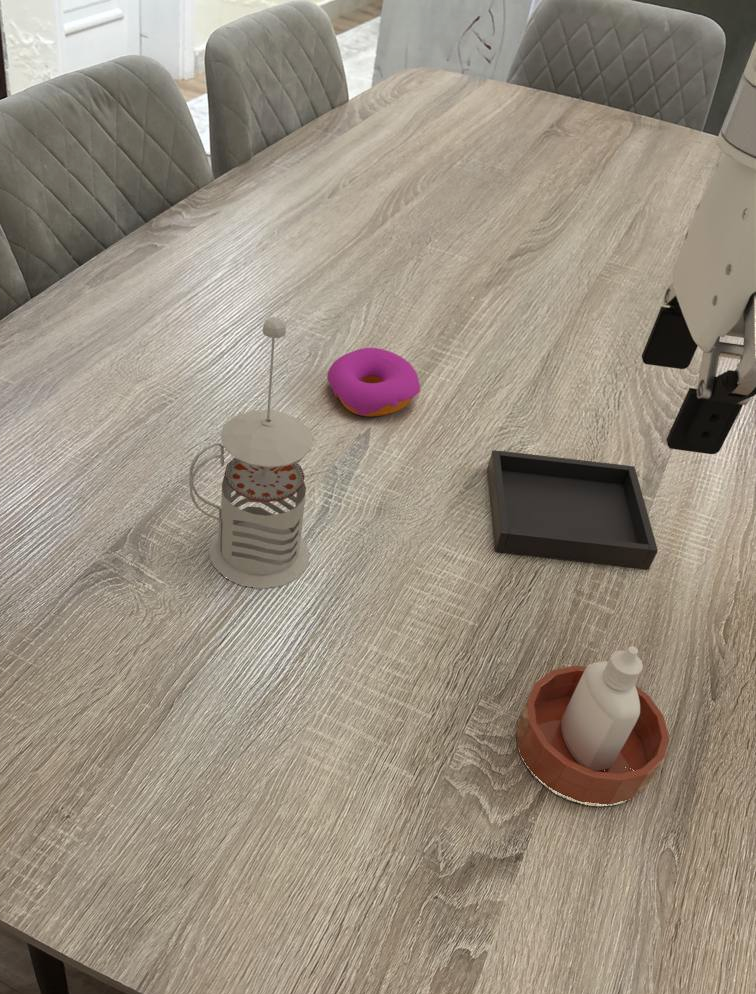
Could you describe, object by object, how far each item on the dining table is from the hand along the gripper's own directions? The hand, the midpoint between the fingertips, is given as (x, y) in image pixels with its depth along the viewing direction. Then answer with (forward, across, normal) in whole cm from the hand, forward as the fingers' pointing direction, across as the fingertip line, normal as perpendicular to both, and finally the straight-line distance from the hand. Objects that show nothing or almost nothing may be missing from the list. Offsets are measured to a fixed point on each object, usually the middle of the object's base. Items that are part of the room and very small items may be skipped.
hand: (676, 404), depth 61 cm
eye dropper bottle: (+29, -6, -2) cm, 30 cm away
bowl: (+30, -6, -2) cm, 30 cm away
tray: (+29, +24, -4) cm, 38 cm away
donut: (+30, +42, +18) cm, 54 cm away
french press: (+30, +12, +28) cm, 43 cm away
